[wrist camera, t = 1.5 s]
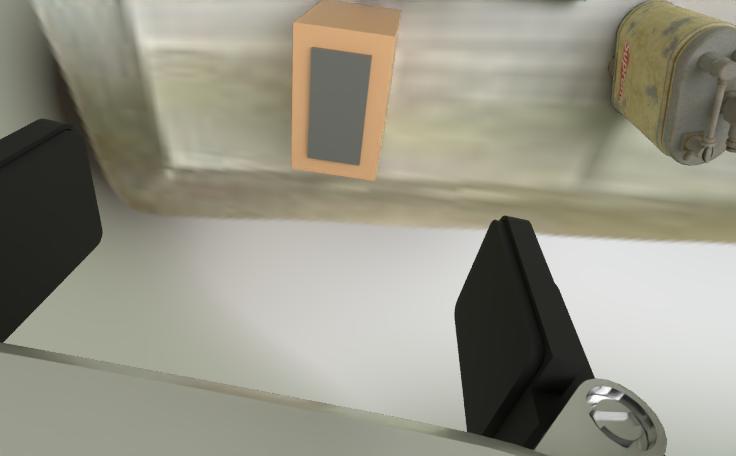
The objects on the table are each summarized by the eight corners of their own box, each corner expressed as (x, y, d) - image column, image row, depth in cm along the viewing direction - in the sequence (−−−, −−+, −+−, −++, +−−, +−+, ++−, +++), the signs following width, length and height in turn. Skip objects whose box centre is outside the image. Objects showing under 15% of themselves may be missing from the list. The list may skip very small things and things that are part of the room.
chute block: (401, 10, 28) (394, 37, 21) (384, 128, 32) (374, 183, 26) (323, -1, 28) (291, 23, 21) (317, 119, 32) (290, 170, 26)
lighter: (664, 110, 30) (756, 181, 21) (603, 119, 30) (669, 192, 22) (683, -7, 26) (804, 25, 18) (612, 7, 26) (697, 44, 18)
